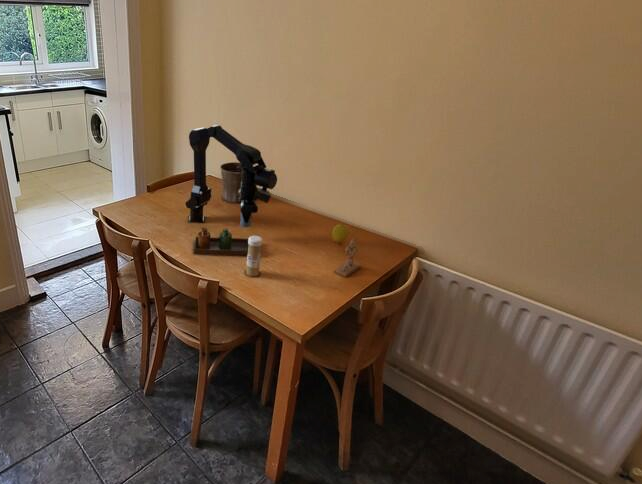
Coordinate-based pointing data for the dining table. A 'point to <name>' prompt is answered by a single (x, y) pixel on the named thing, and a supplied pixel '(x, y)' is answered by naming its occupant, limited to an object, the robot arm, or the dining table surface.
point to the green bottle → (225, 240)
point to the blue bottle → (244, 221)
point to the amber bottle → (204, 239)
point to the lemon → (340, 233)
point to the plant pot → (231, 181)
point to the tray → (237, 248)
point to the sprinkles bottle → (254, 255)
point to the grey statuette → (349, 266)
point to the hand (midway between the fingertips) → (246, 220)
